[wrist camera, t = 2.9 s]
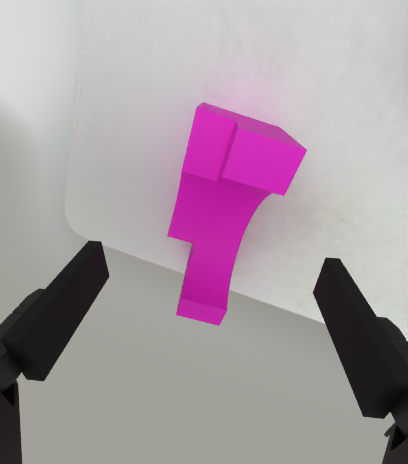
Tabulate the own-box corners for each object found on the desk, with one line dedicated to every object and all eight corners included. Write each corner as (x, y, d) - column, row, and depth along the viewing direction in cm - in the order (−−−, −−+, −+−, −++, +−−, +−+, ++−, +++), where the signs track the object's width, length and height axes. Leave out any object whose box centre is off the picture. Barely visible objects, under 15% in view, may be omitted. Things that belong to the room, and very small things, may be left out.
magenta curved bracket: (202, 102, 18) (190, 112, 12) (279, 127, 19) (307, 149, 12) (165, 253, 26) (146, 307, 20) (220, 267, 27) (219, 325, 20)
